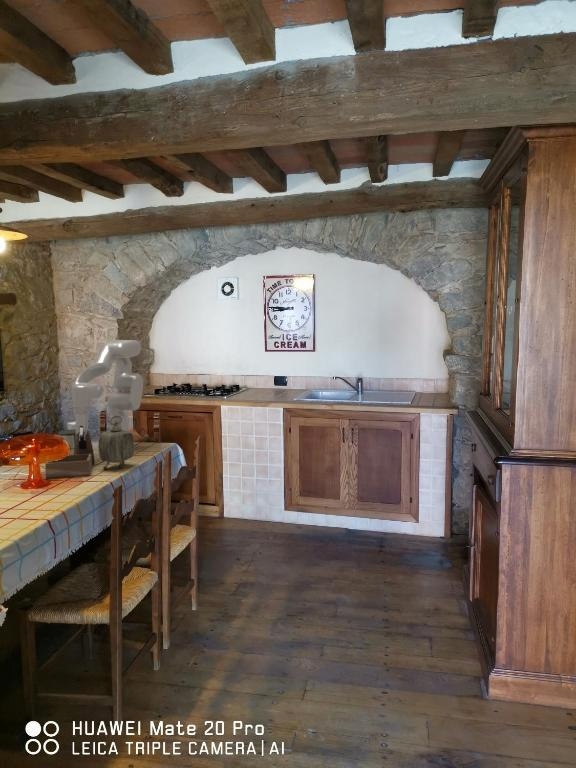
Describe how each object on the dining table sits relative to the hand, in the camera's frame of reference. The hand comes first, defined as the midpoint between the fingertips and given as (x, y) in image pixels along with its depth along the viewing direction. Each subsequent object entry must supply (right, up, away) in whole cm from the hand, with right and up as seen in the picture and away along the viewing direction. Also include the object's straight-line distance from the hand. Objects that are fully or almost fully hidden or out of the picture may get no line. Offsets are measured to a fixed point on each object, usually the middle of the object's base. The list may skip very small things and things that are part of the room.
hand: (83, 447), depth 252 cm
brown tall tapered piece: (0, -9, +1) cm, 9 cm away
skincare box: (-15, -6, +32) cm, 36 cm away
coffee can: (-12, -8, +14) cm, 20 cm away
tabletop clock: (+18, -10, -3) cm, 21 cm away
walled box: (-1, -11, -13) cm, 17 cm away
